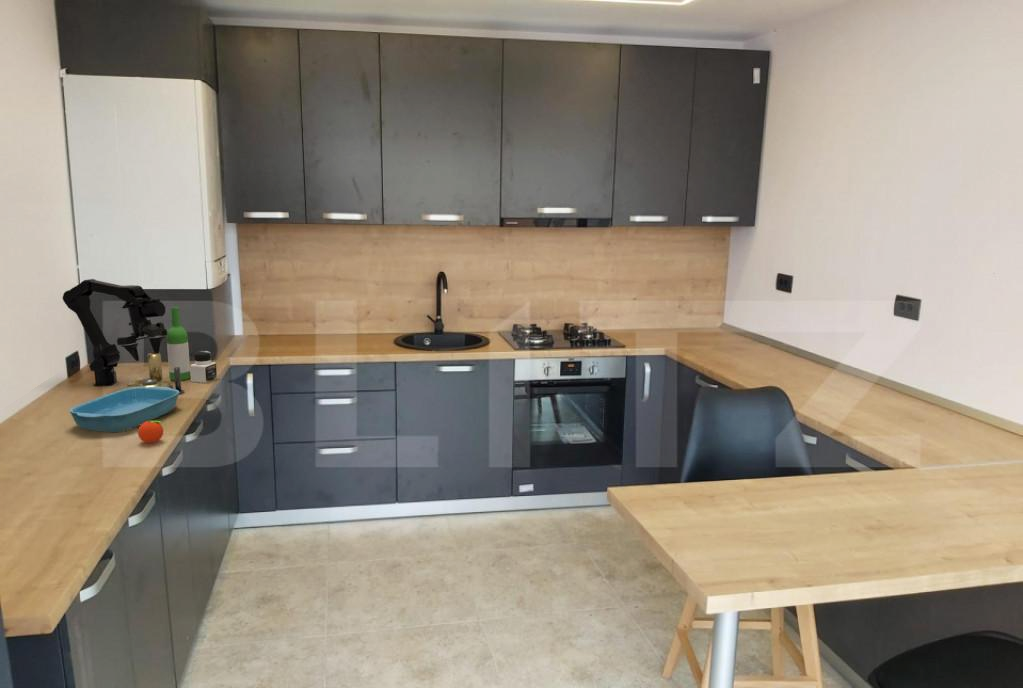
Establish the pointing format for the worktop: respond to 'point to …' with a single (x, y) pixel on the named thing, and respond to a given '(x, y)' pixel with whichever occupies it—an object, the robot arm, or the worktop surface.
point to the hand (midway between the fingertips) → (147, 358)
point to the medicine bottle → (203, 368)
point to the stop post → (178, 380)
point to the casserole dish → (124, 408)
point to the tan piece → (152, 374)
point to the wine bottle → (178, 347)
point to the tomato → (150, 431)
